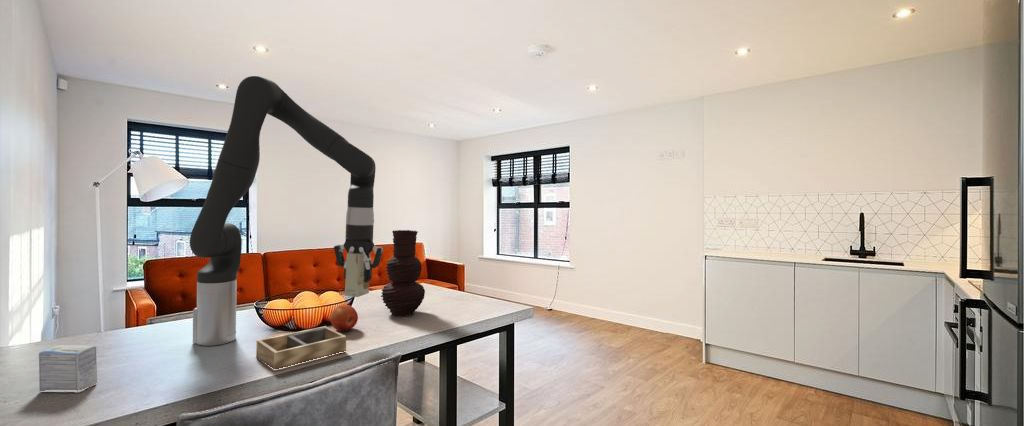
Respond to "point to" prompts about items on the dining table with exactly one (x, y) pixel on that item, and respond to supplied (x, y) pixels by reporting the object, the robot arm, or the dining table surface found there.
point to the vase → (403, 276)
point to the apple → (344, 317)
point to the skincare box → (355, 276)
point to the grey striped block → (67, 367)
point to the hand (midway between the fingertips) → (357, 281)
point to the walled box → (300, 347)
